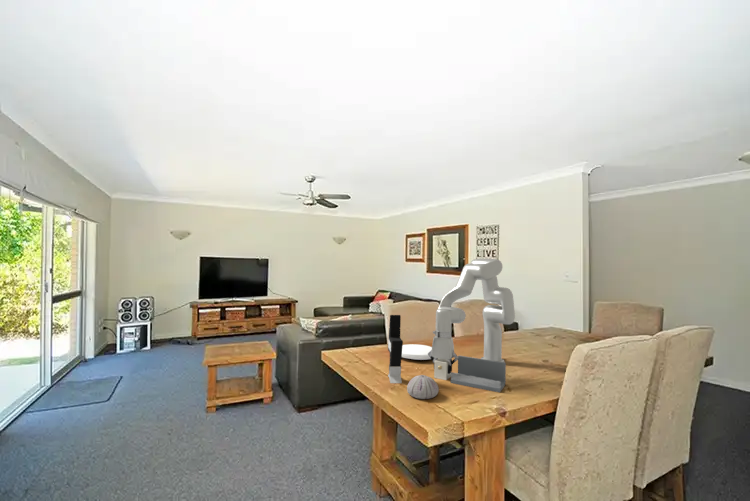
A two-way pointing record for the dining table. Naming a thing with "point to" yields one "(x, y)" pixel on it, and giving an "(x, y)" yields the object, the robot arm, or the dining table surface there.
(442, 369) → the cabinet block
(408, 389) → the sea urchin shell
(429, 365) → the dining table surface
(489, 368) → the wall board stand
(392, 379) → the award
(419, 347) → the plate
